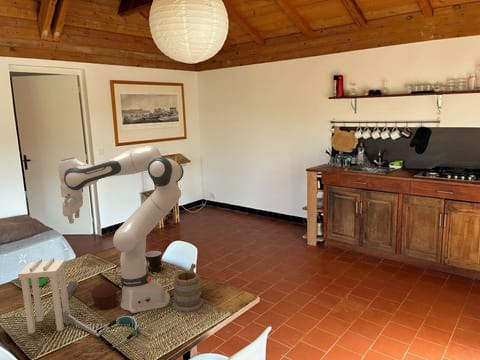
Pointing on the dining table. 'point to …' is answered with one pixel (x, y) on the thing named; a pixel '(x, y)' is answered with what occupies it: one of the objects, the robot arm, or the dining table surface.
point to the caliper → (77, 323)
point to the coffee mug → (153, 261)
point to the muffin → (104, 295)
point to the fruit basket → (41, 281)
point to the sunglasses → (123, 320)
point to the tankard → (187, 291)
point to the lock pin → (71, 289)
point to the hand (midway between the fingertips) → (74, 220)
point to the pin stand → (34, 272)
